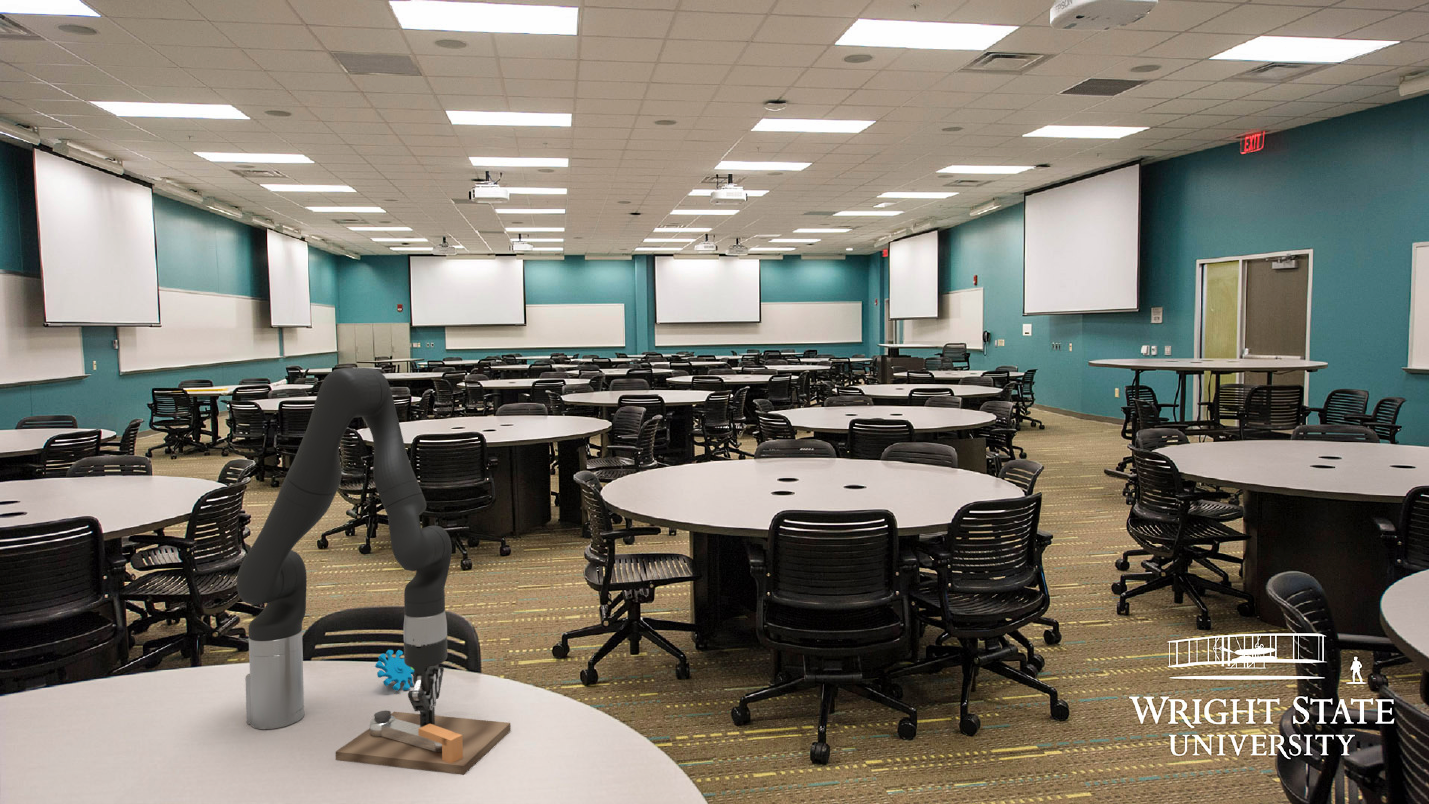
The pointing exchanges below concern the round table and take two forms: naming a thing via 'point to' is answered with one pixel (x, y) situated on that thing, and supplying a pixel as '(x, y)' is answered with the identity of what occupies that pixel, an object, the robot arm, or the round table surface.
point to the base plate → (399, 754)
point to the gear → (395, 670)
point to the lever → (403, 733)
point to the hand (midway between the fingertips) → (427, 728)
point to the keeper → (444, 741)
